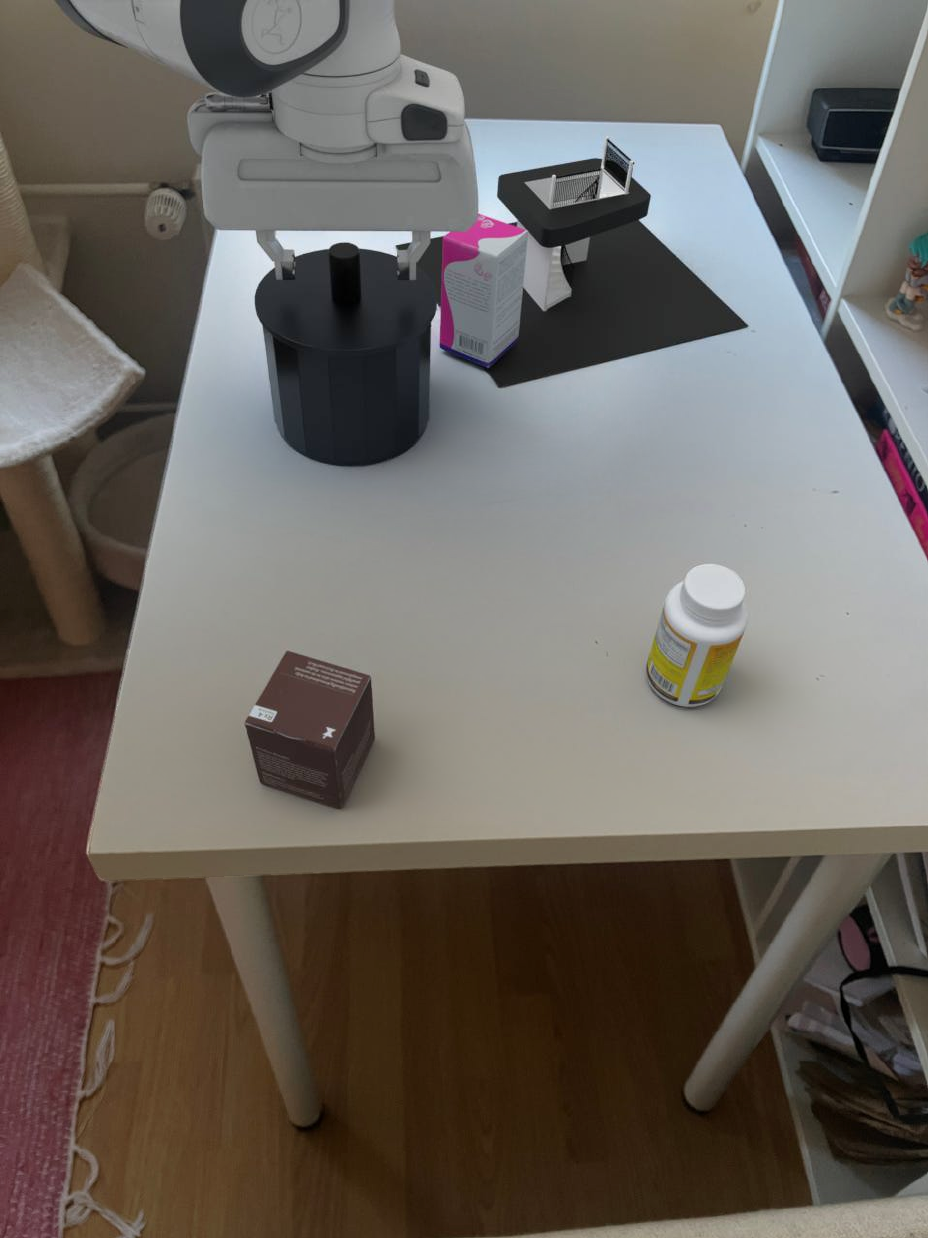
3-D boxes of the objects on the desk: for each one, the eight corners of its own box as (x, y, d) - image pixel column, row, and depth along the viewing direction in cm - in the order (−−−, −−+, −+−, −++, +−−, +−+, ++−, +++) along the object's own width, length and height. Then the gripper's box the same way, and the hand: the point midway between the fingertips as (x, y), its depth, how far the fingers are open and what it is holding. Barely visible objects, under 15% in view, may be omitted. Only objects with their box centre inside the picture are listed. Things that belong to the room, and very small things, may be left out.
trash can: (271, 467, 85) (255, 352, 76) (280, 369, 94) (266, 256, 85) (431, 465, 86) (434, 352, 77) (425, 368, 95) (427, 257, 86)
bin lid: (249, 363, 76) (241, 303, 72) (262, 259, 86) (255, 201, 82) (440, 363, 77) (442, 304, 73) (432, 260, 87) (434, 203, 83)
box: (377, 739, 68) (374, 675, 63) (341, 813, 65) (335, 752, 59) (295, 712, 69) (286, 647, 64) (256, 784, 66) (241, 721, 60)
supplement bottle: (725, 660, 74) (763, 566, 66) (715, 719, 71) (754, 627, 63) (651, 640, 75) (680, 545, 67) (637, 698, 71) (665, 605, 63)
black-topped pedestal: (499, 388, 93) (510, 256, 83) (395, 246, 108) (393, 120, 98) (748, 326, 102) (786, 200, 91) (619, 202, 116) (640, 82, 106)
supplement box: (520, 339, 98) (531, 229, 89) (488, 369, 94) (496, 258, 85) (470, 319, 99) (476, 209, 91) (436, 348, 96) (439, 236, 87)
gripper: (176, 113, 66) (209, 298, 77) (486, 117, 67) (476, 299, 78) (187, 72, 70) (217, 254, 81) (479, 77, 71) (470, 255, 82)
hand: (346, 276), depth 79 cm, fingers open, 8 cm apart
